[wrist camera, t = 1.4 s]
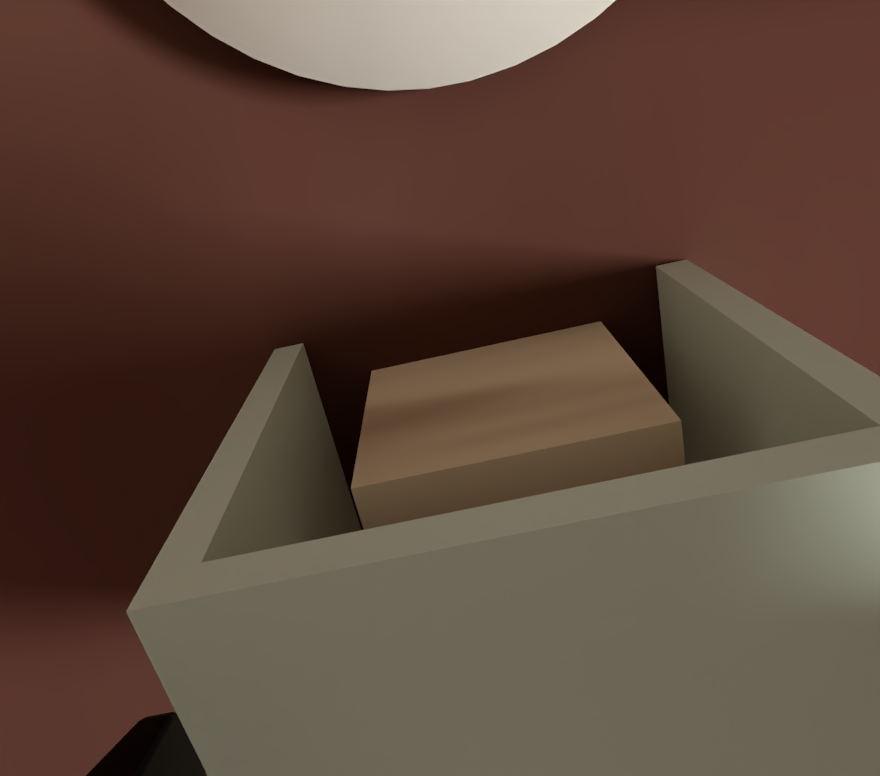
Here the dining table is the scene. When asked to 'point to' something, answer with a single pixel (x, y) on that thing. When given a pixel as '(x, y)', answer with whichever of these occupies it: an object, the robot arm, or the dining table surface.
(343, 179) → the dining table surface
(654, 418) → the block
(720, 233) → the dining table surface
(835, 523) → the cover
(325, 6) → the saucer
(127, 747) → the robot arm
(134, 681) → the dining table surface
